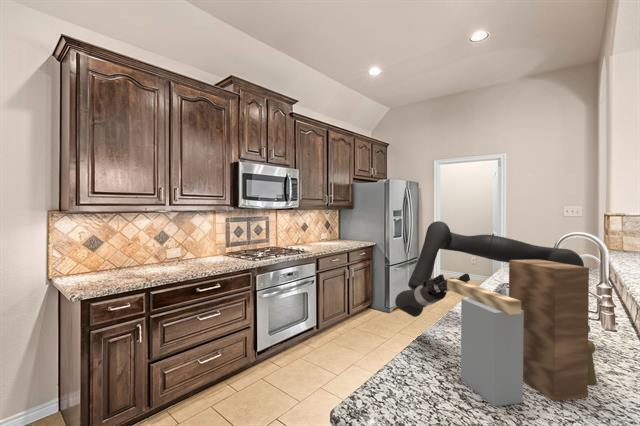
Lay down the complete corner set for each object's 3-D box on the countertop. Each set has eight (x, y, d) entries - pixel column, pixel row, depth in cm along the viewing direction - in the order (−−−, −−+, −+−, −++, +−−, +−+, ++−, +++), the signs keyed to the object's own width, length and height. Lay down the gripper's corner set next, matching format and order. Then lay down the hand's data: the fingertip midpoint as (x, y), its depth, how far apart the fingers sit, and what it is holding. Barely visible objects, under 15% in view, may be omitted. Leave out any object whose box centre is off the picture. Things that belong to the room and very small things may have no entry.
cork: (602, 386, 82) (603, 344, 82) (576, 384, 83) (576, 342, 83) (587, 375, 88) (588, 336, 88) (563, 372, 89) (563, 334, 89)
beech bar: (521, 313, 72) (521, 300, 72) (509, 314, 71) (510, 301, 71) (455, 288, 96) (455, 279, 96) (447, 289, 95) (447, 279, 95)
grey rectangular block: (522, 402, 74) (523, 310, 74) (493, 406, 73) (494, 312, 73) (486, 376, 86) (487, 297, 86) (460, 379, 84) (461, 298, 84)
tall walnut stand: (587, 396, 77) (588, 267, 77) (554, 401, 75) (555, 268, 75) (537, 368, 91) (538, 259, 91) (508, 372, 89) (509, 260, 89)
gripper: (408, 282, 107) (430, 265, 94) (445, 280, 110) (472, 264, 96) (413, 304, 104) (437, 290, 90) (451, 302, 107) (480, 288, 93)
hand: (455, 277), depth 93 cm, fingers open, 8 cm apart
